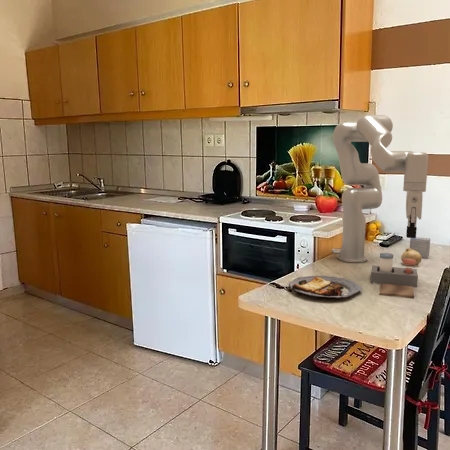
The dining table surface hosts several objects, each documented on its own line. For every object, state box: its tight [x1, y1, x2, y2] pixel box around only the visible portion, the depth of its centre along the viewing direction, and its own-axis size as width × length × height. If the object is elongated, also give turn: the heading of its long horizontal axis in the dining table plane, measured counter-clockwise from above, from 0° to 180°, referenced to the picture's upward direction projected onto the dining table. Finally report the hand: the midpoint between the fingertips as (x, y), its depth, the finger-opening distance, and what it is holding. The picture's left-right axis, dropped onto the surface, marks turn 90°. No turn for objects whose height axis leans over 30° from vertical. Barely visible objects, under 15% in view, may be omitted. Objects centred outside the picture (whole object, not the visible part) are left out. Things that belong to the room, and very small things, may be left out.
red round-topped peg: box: [402, 258, 416, 273], centre depth 174 cm, size 4×4×7 cm
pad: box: [379, 283, 415, 299], centre depth 164 cm, size 11×11×1 cm
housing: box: [370, 264, 419, 288], centre depth 176 cm, size 16×10×4 cm, turn 71°
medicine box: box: [409, 236, 431, 259], centre depth 212 cm, size 8×4×9 cm, turn 58°
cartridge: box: [379, 252, 394, 272], centre depth 176 cm, size 5×5×10 cm
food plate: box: [288, 275, 363, 299], centre depth 165 cm, size 25×23×4 cm
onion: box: [400, 247, 423, 267], centre depth 198 cm, size 8×8×7 cm
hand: (411, 237), depth 171 cm, fingers closed
